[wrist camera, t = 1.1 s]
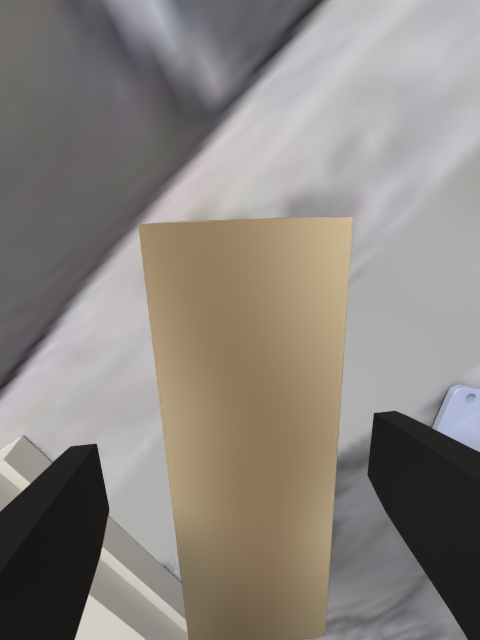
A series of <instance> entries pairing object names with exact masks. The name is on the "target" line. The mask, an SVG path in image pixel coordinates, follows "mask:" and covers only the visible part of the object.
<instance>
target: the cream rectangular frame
mask: <svg viewBox="0 0 480 640" xmlns="http://www.w3.org/2000/svg"><path fill="white" fill-rule="evenodd" d="M51 464H52V462H51V461H50V460H49V459H48V458H47V457H45V456H44V455H43V454H42V453H41V452H40V451H39V450H38V449H37V448H36V447H35V446H34V445H33V444H32V443H30V442H29V441H28V440H27V439H26V438H25V437H24V436H23V435H22V436H21V437H19V438H18V439H16V440H15V441H13V442H12V443H10V444H8V445H7V446H5V447H4V448H2V449H1V450H0V511H1V510H2V509H4V508H5V507H6V506H7V505H8V504H9V503H10V502H11V501H12V500H13V499H14V498H15V497H17V496H18V495H19V494H20V493H21V492H22V491H23V490H24V489H25V488H26V487H27V486H28V485H30V484H31V483H32V482H33V481H34V480H35V479H36V478H37V477H38V476H39V475H40V474H41V473H42V472H43V471H44V470H45V469H47V468H48V467H49V466H50V465H51ZM75 640H188V633H187V624H186V616H185V608H184V599H183V591H182V583H181V582H179V581H178V580H177V579H176V578H175V577H174V576H173V575H172V574H171V573H170V572H169V571H168V570H167V569H166V568H164V567H163V566H162V565H161V564H160V563H159V562H158V561H157V560H156V559H155V558H154V557H153V556H151V555H150V554H149V553H148V552H147V551H146V550H145V549H144V548H143V547H142V546H141V545H140V544H139V543H138V542H137V541H136V540H134V539H133V538H132V537H131V536H130V535H129V534H128V533H127V532H126V531H125V530H124V529H123V528H121V527H120V526H119V525H118V524H117V523H116V522H115V521H114V520H113V519H112V518H111V517H110V516H109V515H108V520H107V525H106V531H105V536H104V541H103V546H102V551H101V555H100V559H99V562H98V566H97V569H96V572H95V576H94V579H93V582H92V585H91V589H90V592H89V595H88V599H87V602H86V605H85V608H84V612H83V615H82V618H81V621H80V624H79V628H78V631H77V634H76V637H75Z"/></svg>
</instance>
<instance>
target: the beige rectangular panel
mask: <svg viewBox="0 0 480 640" xmlns="http://www.w3.org/2000/svg"><path fill="white" fill-rule="evenodd" d="M352 225H353V217H321V218H264V219H236V220H207V221H179V222H162V223H151V224H140V225H139V234H140V242H141V250H142V259H143V267H144V275H145V283H146V292H147V300H148V308H149V317H150V325H151V333H152V342H153V350H154V358H155V367H156V375H157V383H158V392H159V400H160V408H161V417H162V425H163V433H164V441H165V450H166V457H167V465H168V474H169V483H170V491H171V500H172V508H173V516H174V525H175V533H176V541H177V550H178V558H179V566H180V574H181V583H182V591H183V599H184V608H185V616H186V624H187V633H188V640H304V639H310V638H315V637H320V636H325V630H326V615H327V600H328V585H329V570H330V555H331V540H332V525H333V510H334V495H335V480H336V465H337V450H338V435H339V420H340V405H341V390H342V375H343V374H342V373H343V360H344V344H345V330H346V315H347V300H348V285H349V270H350V255H351V240H352Z"/></svg>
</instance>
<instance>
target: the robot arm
mask: <svg viewBox="0 0 480 640" xmlns="http://www.w3.org/2000/svg"><path fill="white" fill-rule="evenodd" d="M467 396H468V397H467ZM466 397H467V398H466ZM368 477H369V479H370V481H371V483H372V485H373V487H374V489H375V492H376V494H377V496H378V498H379V499H380V501H381V503H382V505H383V507H384V509H385V511H386V513H387V514H388V516H389V518H390V519H391V521H392V522H393V524H394V525H395V527H396V529H397V530H398V532H399V533H400V535H401V536H402V538H403V539H404V541H405V542H406V544H407V546H408V547H409V549H410V550H411V552H412V553H413V555H414V556H415V558H416V559H417V561H418V562H419V564H420V565H421V567H422V568H423V570H424V571H425V573H426V574H427V576H428V577H429V579H430V580H431V582H432V583H433V585H434V587H435V588H436V590H437V591H438V593H439V594H440V596H441V597H442V599H443V600H444V602H445V603H446V605H447V606H448V608H449V609H450V611H451V613H452V614H453V616H454V617H455V619H456V621H457V622H458V624H459V626H460V627H461V629H462V630H463V632H464V634H465V635H466V637H467V639H468V640H480V388H479V387H474V386H468V385H462V384H457V385H454V386H452V387H451V388H450V389H449V391H448V393H447V395H446V397H445V399H444V402H443V404H442V406H441V409H440V411H439V413H438V415H437V418H436V420H435V422H434V424H433V427H432V428H431V427H429V426H427V425H425V424H423V423H421V422H419V421H417V420H415V419H412V418H410V417H408V416H406V415H404V414H401V413H399V412H397V411H390V412H381V413H374V418H373V428H372V437H371V447H370V456H369V466H368ZM108 514H109V505H108V500H107V494H106V489H105V484H104V479H103V474H102V469H101V463H100V458H99V453H98V448H97V444H89V445H80V446H71V447H70V448H68V449H67V450H66V451H65V452H64V453H63V454H62V455H60V456H59V457H58V458H57V459H56V460H55V461H54V462H53V463H52V464H51V465H50V466H49V467H48V468H47V469H45V470H44V471H43V472H42V473H41V474H40V475H39V476H38V477H37V478H36V479H35V480H34V481H33V482H32V483H31V484H30V485H28V486H27V487H26V488H25V489H24V490H23V491H22V492H21V493H20V494H19V495H18V496H17V497H15V498H14V499H13V500H12V501H11V502H10V503H9V504H8V505H7V506H6V507H5V508H4V509H2V510H1V511H0V640H75V637H76V634H77V631H78V628H79V624H80V621H81V618H82V615H83V612H84V608H85V605H86V602H87V599H88V595H89V592H90V589H91V585H92V582H93V579H94V576H95V572H96V569H97V566H98V562H99V559H100V555H101V551H102V546H103V541H104V536H105V531H106V525H107V520H108Z"/></svg>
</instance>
